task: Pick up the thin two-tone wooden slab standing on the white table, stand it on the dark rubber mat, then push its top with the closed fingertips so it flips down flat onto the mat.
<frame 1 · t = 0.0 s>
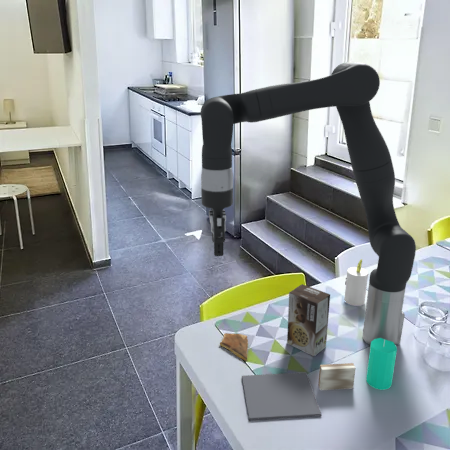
hand: (217, 248, 115), 29 cm above the table, fingers open, 8 cm apart
shard: (240, 348, 127), on the table
cookie box: (306, 345, 127), on the table
candle 2: (354, 301, 149), on the table
slab: (335, 386, 111), on the table
candle: (378, 382, 113), on the table
mat: (279, 395, 108), on the table
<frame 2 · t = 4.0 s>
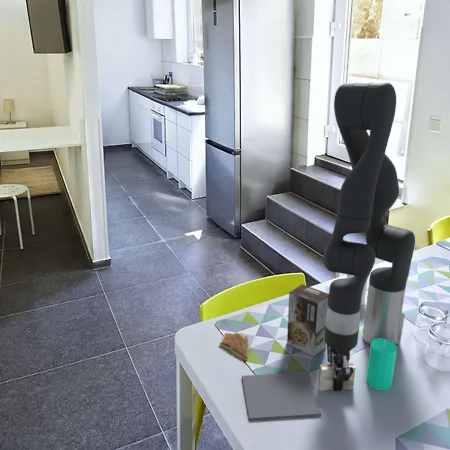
hand: (335, 385, 111), 0 cm above the table, fingers closed, pressing on slab
slab: (335, 386, 111), on the table, touching gripper
everything else where it was.
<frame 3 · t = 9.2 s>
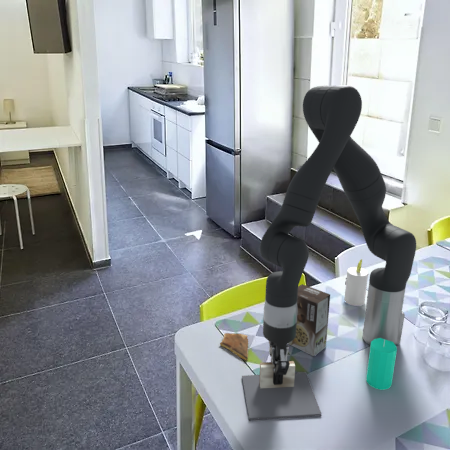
hand: (276, 380, 110), 2 cm above the table, fingers closed on slab, 2 cm apart
slab: (276, 385, 111), point 1 cm above the table, touching gripper, mat
everything else where it was.
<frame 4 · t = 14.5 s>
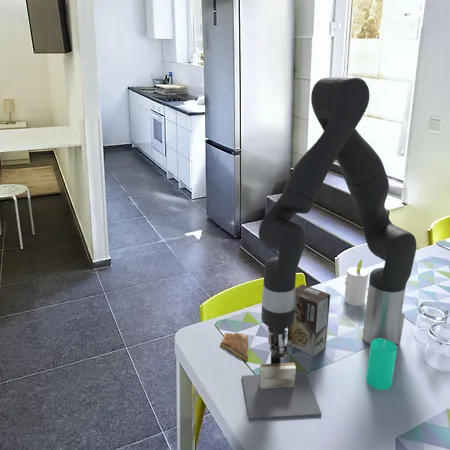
hand: (275, 365, 111), 5 cm above the table, fingers closed
slab: (276, 384, 111), point 1 cm above the table, tilted 7°, touching mat
everything else where it was.
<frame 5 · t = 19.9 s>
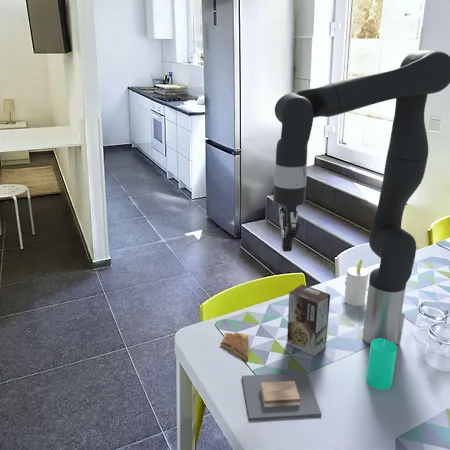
hand: (286, 250, 115), 29 cm above the table, fingers closed
slab: (277, 384, 110), point 1 cm above the table, tilted 90°, touching mat
everything else where it was.
at the end: slab tilted 90°; slab inside the target area on the mat (2.0 cm from its centre), point 1.5 cm above the mat's base; the gripper is holding nothing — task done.
